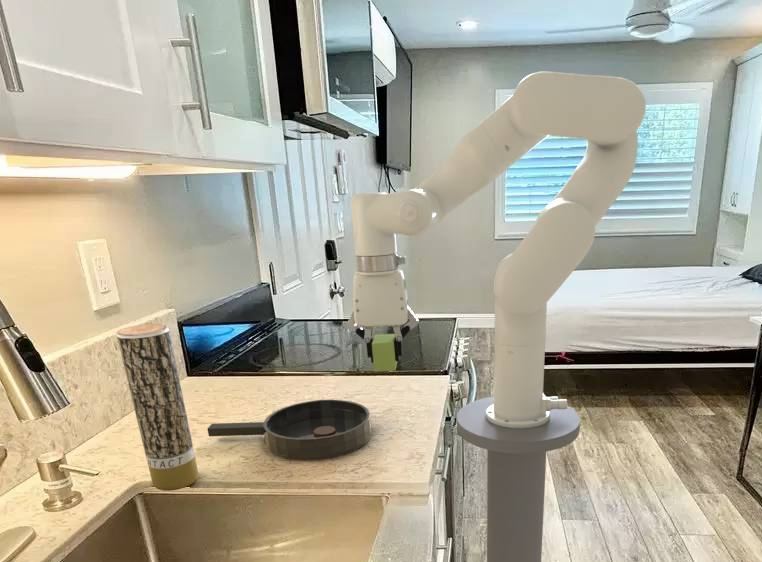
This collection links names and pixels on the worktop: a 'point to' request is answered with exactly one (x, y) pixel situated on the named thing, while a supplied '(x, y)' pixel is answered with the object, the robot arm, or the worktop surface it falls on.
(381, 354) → the sponge
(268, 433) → the pan
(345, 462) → the worktop surface
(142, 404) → the paper tube
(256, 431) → the pan handle
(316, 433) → the brown disc
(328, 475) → the worktop surface
